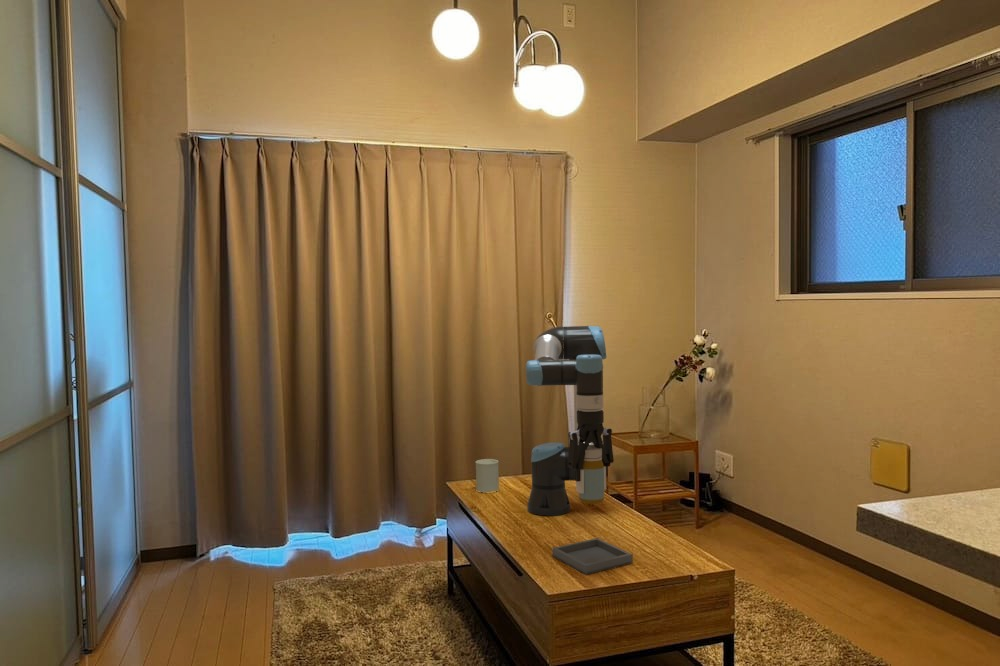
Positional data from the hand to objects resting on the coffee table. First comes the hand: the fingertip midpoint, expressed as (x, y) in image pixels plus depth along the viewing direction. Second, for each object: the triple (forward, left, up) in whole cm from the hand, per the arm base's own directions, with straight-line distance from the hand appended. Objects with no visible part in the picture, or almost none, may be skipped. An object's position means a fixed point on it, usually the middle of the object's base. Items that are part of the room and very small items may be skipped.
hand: (591, 490), depth 194 cm
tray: (+1, -1, -20) cm, 20 cm away
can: (-81, +9, -20) cm, 84 cm away
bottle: (0, 0, -3) cm, 3 cm away
